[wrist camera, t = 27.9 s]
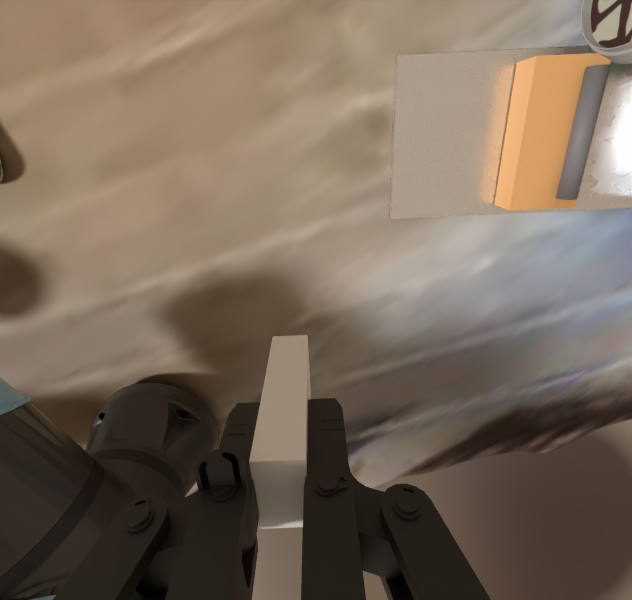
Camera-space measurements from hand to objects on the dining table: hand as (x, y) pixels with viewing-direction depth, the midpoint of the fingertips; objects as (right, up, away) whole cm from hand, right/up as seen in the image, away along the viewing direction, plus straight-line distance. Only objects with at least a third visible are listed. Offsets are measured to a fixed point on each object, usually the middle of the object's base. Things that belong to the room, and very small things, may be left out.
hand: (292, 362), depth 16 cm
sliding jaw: (+22, +18, +18) cm, 33 cm away
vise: (+22, +18, +19) cm, 34 cm away
